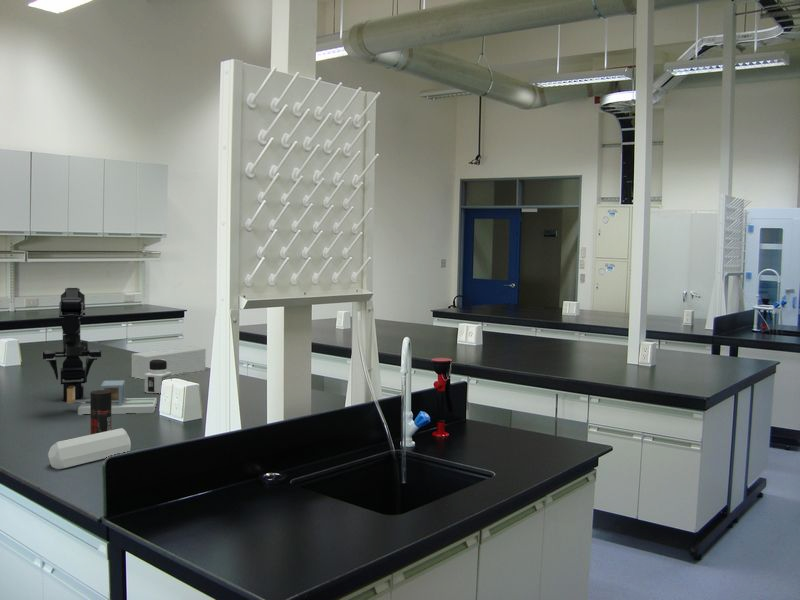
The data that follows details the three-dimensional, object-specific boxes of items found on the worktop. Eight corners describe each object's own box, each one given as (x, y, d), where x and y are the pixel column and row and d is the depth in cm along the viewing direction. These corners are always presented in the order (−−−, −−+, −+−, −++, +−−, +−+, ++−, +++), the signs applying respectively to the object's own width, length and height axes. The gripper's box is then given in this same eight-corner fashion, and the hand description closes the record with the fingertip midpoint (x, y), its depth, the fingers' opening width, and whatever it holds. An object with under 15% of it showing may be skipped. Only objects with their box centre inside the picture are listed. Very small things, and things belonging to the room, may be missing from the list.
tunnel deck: (78, 415, 251) (77, 387, 250) (84, 405, 265) (84, 379, 264) (153, 413, 257) (153, 386, 257) (156, 404, 271) (156, 378, 270)
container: (161, 394, 287) (161, 362, 286) (144, 392, 289) (144, 360, 288) (171, 390, 295) (171, 359, 294) (154, 389, 296) (154, 357, 295)
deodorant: (94, 437, 225) (94, 389, 224) (114, 437, 226) (113, 390, 224) (87, 442, 219) (87, 393, 218) (107, 442, 220) (107, 394, 218)
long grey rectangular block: (190, 368, 345) (190, 346, 344) (205, 371, 339) (205, 348, 338) (131, 378, 319) (131, 353, 318) (146, 381, 312) (146, 356, 312)
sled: (67, 403, 254) (66, 388, 254) (69, 400, 259) (69, 385, 258) (125, 402, 259) (125, 387, 259) (126, 398, 264) (127, 384, 263)
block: (105, 400, 257) (105, 388, 257) (107, 397, 262) (107, 385, 261) (118, 400, 259) (118, 387, 258) (120, 397, 263) (120, 385, 263)
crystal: (118, 433, 217) (38, 451, 197) (130, 425, 213) (50, 442, 193) (125, 457, 215) (45, 477, 196) (137, 449, 211) (57, 469, 192)
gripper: (44, 334, 242) (44, 381, 241) (103, 333, 252) (103, 378, 251) (41, 335, 252) (41, 380, 251) (98, 333, 261) (98, 377, 261)
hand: (71, 378), depth 253 cm, fingers open, 9 cm apart
